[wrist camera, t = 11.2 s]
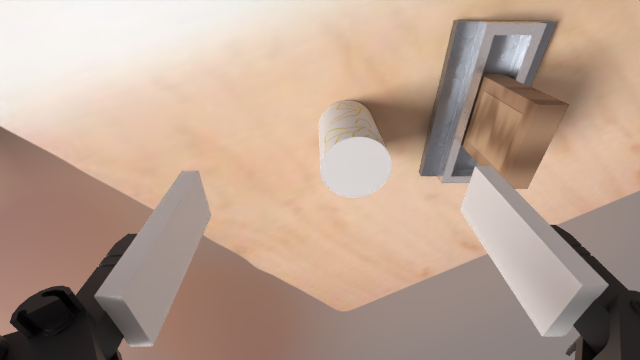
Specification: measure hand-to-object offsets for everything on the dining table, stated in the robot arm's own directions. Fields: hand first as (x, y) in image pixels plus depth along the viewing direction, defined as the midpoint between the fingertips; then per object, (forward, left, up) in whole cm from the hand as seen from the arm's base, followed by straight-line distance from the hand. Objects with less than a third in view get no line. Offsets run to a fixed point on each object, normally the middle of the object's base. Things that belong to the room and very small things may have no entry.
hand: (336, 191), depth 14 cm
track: (+6, +22, -29) cm, 37 cm away
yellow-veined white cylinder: (+9, +4, -29) cm, 30 cm away
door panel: (+6, +22, -27) cm, 36 cm away
